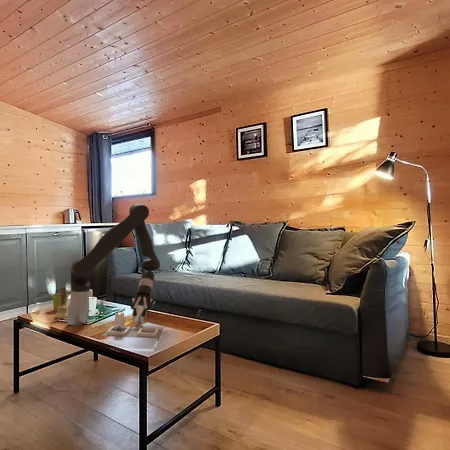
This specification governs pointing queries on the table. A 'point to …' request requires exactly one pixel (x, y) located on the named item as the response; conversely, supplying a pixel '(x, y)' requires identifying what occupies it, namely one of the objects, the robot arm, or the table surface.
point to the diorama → (102, 307)
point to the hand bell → (62, 306)
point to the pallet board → (134, 332)
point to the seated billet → (119, 321)
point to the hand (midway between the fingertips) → (138, 316)
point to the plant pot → (58, 300)
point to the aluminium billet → (139, 314)
